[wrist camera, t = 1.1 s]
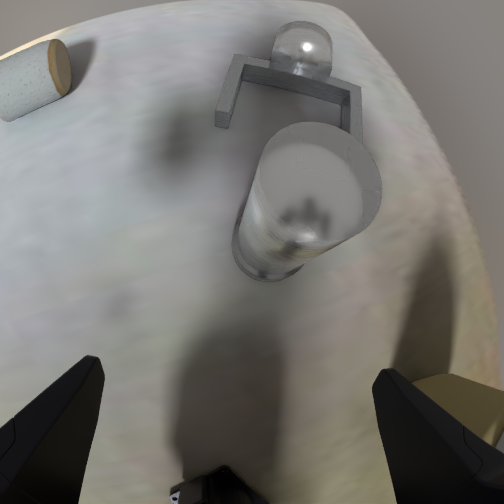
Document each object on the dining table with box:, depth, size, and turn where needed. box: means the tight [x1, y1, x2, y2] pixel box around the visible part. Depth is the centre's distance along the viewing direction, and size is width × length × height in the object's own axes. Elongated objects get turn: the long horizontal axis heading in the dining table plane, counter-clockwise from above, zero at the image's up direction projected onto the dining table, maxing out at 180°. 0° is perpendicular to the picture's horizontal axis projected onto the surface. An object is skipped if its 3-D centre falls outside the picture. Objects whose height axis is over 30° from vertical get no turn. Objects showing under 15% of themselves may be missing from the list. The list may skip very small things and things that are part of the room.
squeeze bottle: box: [412, 374, 504, 453], centre depth 14 cm, size 8×8×18 cm
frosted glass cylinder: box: [232, 121, 382, 282], centre depth 18 cm, size 6×6×13 cm
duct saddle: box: [215, 21, 362, 144], centre depth 24 cm, size 12×13×6 cm
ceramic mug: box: [0, 39, 72, 122], centre depth 21 cm, size 11×8×8 cm
